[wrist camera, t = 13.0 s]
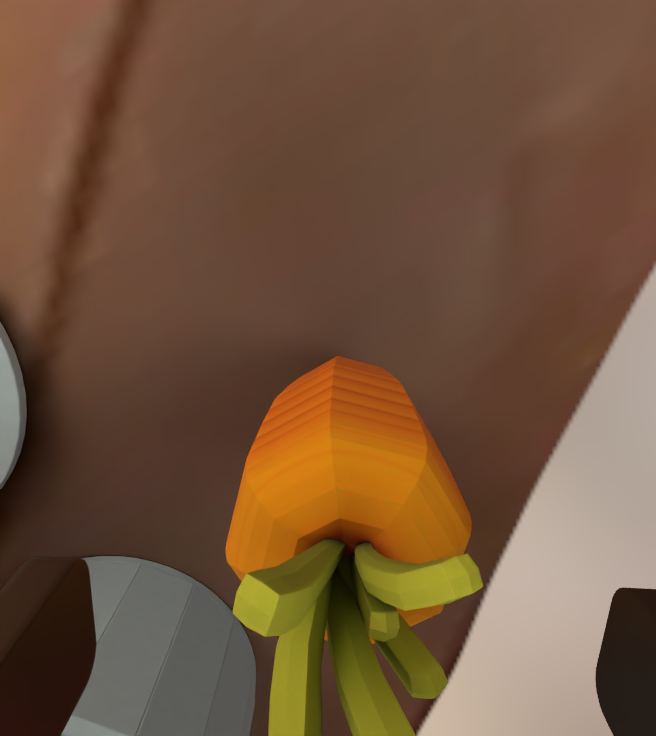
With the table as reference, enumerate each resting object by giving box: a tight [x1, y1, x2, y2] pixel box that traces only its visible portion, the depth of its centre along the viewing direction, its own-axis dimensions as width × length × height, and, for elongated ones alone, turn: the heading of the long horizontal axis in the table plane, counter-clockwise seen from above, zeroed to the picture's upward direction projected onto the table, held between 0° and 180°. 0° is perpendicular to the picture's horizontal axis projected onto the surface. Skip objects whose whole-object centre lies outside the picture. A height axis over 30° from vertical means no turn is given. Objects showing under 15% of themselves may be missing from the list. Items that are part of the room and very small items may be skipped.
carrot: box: [225, 356, 483, 736], centre depth 14 cm, size 5×5×15 cm
